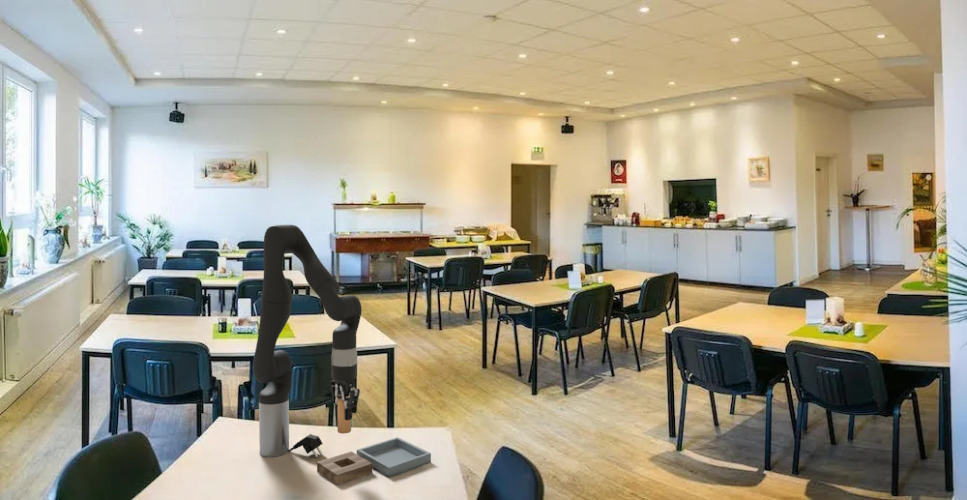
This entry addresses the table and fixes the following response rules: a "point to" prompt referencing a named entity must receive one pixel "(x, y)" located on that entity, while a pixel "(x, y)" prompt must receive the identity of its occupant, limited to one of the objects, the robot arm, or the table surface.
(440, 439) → the table surface
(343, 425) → the orange plug
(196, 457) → the table surface
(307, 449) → the power plug
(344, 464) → the wooden square hole block
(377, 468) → the slate tray
